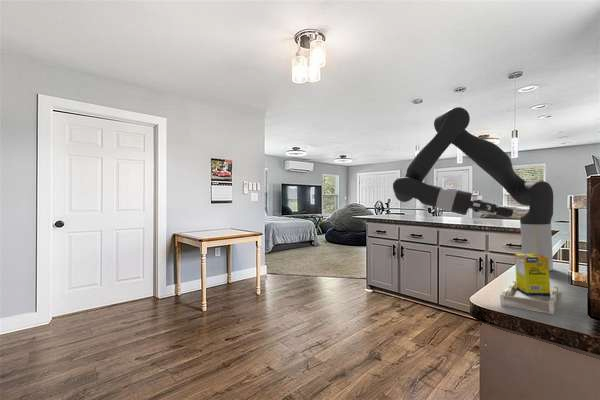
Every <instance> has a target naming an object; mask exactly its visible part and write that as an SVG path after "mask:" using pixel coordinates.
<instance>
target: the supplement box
mask: <svg viewBox="0 0 600 400" xmlns="http://www.w3.org/2000/svg"><path fill="white" fill-rule="evenodd" d="M514 259H515V260H514V261H515V262H514V263H515V278H516V279H515V281H516V290H517V291H519V292H521V293H523V294H525V295H526V296H541V297H542V296H544V297H550V296H551V284H550V283H551V282H550V281H551V280H550V271H549V260H548V257H545V256H542V255H539V254H522V253H514Z"/></svg>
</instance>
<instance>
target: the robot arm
mask: <svg viewBox="0 0 600 400" xmlns="http://www.w3.org/2000/svg"><path fill="white" fill-rule="evenodd" d="M470 121H471V117H470V113H469V112H468V111H467V109H466V108H464V107H453V108H450V109H448V110H446V111H444V112H442V113H441V114H439V115H437V116H436V118H435V119H434V121H433V128H434V130H435V132H436V134H435V136H433V138H432V139H431V140H430V141H429V142H428V143H427V144H426V145H425V146H424V147H423V148H422V149H420V151H419V152H418V153H417V154H416V155H415V157H414V158H413V160H411V162H410V164H409V165H408V167H407V169H406V174H405V176H401V177H397V178H396V179H395V180H394V181H393V183H392V190H393V193H394V196H395V199H397V201H399V202H401V203H402V202H403V203H406V202H410V201H411V200H413V199H415V200H417V201H419V202H420V203H421V205H422V204H423V205H425V206H429V207H433V208H437V209H440V210H442V211H447V212H451V213H455V214H458V215H462V216H465V215H467V213H468V211H469V210H472V211H473V212H474V213H477V214H483V215H491V216H494V215H495V216H499V217H504V218H510V217H512V216H513V213H514V209H512V208H508V207H502V206H500V205H498V204H495V203H491V202H489V201H484V200H483V199H482V200H481V199H474V200H472V197H473V194H472V192H469V191H464V190H461V189H460V190H459V189H455V188H454V189H453V188H450V187H442V186H436V185H431V184H428V183H425V182H424V179H425V178H426V176H427V175H428V174H429V173H430V171H431V170H432V168H433V167H434V166H435V164H436V163H437V162H438V160H439V158H440V157H441V156H442V155H443V154H444V153H445V151H446V150H447V149H448V148H449V146H450V145H454V146H455V147H456V148H457V149H458V150H460V151H461V152H462V153H463V154H465V156H467V157H468V158H469V159H470V160H471V161H473V162H474V164H476V165H477V166H479V168H480V169H482V170H483V171H484V172H485V173H486V174H487V175H489V176H490V177H492V179H494V180H495V182H497V183H498V184H500V186H502V188H503V189H504V190H506V192H507V193H508V194H509V195H510V196H511V198H512V199H513V200H514V201H515V202H517V203H518V204H519V205H521V206H526V207H527V206H529V209H528V212H527V213H525V214H523V215H521V216H520V218H519V223H520V243H521V244H520V245H521V254H539V255H542V256H545V257H548V260H549V272H553V271H554V260H553V259H554V258H553V257H554V255H553V253H554V252H553V235H552V218H553V216H554V189H553V187H552V185H551V184H549V182H547V181H544V180H537V181H526V180H524V179H523V178H522V177H520V176H519V175H518V174H517V173H516V172H515V171H514V168H513V163H512V160H511V158H510V156H509V155H508V154H507V153H506V152H505V151H504V150H503V149H502V148H500V147H499V146H498V145H496V144H495V143H493V142H492V141H489V140H487V139H484V138H481V137H478V136H476V135H474V134H473V133H470V131H467V130H466V129H467V128H468V126H469V125H470Z"/></svg>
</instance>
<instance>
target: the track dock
mask: <svg viewBox="0 0 600 400" xmlns="http://www.w3.org/2000/svg"><path fill="white" fill-rule="evenodd" d="M558 287H559V286H557V285H554V286H553V288H552V294H550V296H549V297H550V298H549V300H548V301H547V300H541V299H534V298H533V299H532V298H525V297H520V296H512V294H513V293H514V291H515V290H516V289H517V284H516V280H514V281H513V280H512V282H511V284H510V285H509V286H508V288H504V289H503V291H502V292H501V294H500V296H499V300H500V302H499V303H500V306H501V307H510V308H515V309H521V310H527V311H532V312H533V311H534V312H537V313H544V314H545V313H546V314H550V315H554V314H555V309H556V303H557V297H558Z"/></svg>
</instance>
